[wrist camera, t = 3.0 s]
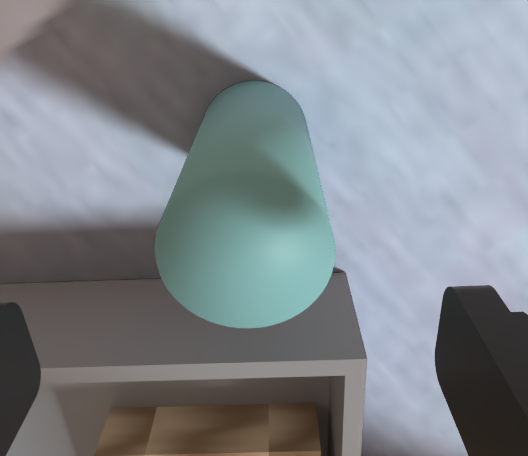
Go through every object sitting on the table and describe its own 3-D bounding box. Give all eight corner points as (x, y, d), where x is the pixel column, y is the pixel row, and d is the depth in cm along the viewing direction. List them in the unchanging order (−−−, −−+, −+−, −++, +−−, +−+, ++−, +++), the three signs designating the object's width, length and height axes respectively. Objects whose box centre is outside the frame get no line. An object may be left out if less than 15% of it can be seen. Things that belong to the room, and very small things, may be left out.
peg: (307, 78, 20) (337, 168, 11) (307, 180, 22) (333, 325, 13) (196, 82, 20) (141, 176, 11) (207, 184, 22) (167, 330, 13)
